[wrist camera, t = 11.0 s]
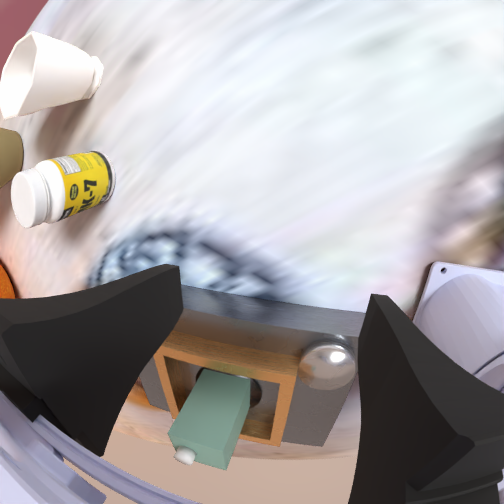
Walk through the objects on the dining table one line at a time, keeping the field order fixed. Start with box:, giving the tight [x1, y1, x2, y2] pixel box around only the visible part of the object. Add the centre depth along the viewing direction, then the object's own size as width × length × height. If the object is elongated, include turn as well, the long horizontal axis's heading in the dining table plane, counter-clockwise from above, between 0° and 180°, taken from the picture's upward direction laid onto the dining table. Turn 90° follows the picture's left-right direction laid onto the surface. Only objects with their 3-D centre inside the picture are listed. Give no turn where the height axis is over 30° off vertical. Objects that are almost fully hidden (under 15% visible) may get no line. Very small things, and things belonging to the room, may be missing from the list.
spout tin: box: [168, 369, 250, 470], centre depth 18 cm, size 4×4×8 cm
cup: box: [0, 31, 103, 120], centre depth 14 cm, size 7×10×8 cm
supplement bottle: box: [11, 151, 115, 228], centre depth 17 cm, size 5×5×8 cm
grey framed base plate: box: [139, 285, 366, 447], centre depth 22 cm, size 20×16×5 cm
